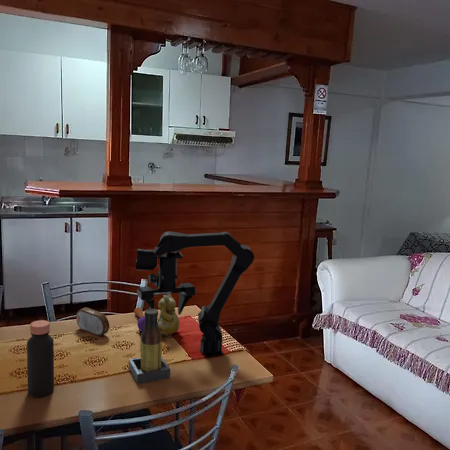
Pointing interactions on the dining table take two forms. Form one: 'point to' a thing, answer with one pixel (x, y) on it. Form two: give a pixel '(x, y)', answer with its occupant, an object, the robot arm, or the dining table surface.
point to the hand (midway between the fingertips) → (166, 315)
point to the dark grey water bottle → (40, 360)
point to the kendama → (142, 318)
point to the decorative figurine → (168, 316)
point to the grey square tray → (148, 375)
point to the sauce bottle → (151, 342)
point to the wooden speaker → (92, 321)
